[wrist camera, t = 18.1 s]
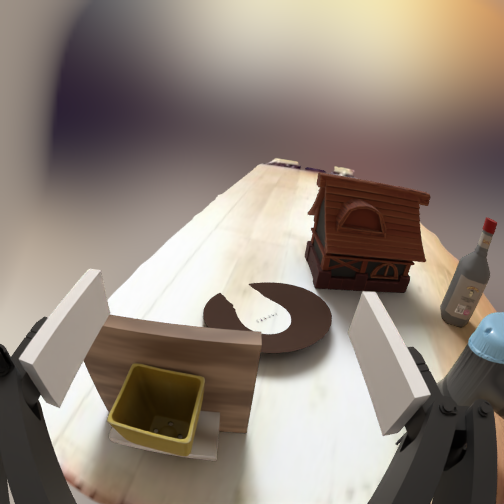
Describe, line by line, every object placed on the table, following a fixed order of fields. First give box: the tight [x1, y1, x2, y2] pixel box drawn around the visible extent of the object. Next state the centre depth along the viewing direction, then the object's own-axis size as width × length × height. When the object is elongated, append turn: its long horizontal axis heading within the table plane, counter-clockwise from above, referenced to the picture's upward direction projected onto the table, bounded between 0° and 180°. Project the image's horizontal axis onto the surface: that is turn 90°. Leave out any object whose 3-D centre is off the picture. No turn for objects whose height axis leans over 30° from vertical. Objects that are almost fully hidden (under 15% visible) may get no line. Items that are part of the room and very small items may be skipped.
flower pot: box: [107, 363, 205, 456], centre depth 27 cm, size 9×9×9 cm
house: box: [305, 173, 430, 293], centre depth 78 cm, size 35×28×29 cm
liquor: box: [440, 218, 497, 327], centre depth 58 cm, size 9×9×30 cm
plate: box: [203, 283, 332, 353], centre depth 62 cm, size 28×28×4 cm
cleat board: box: [84, 315, 262, 461], centre depth 32 cm, size 15×22×20 cm
